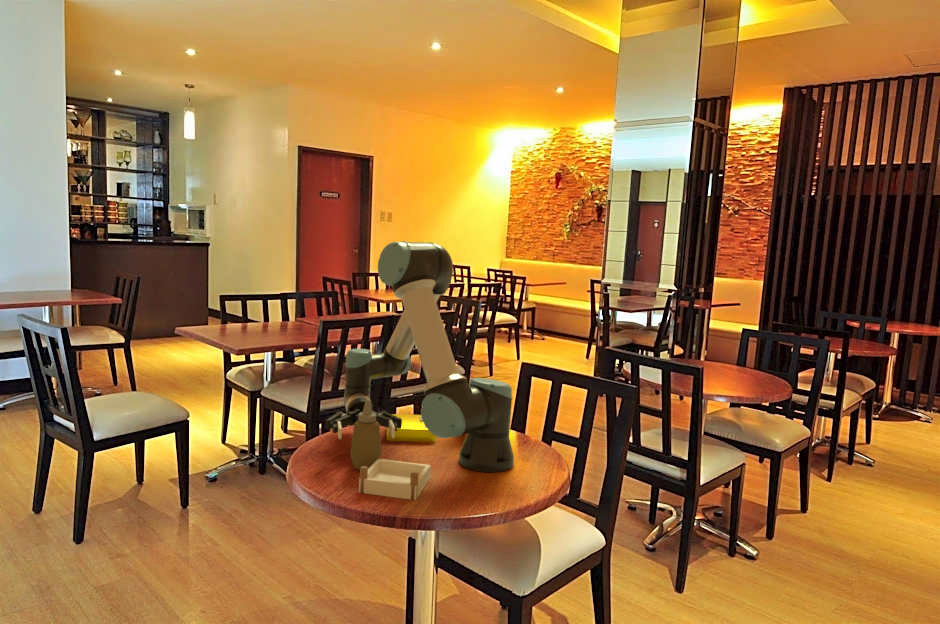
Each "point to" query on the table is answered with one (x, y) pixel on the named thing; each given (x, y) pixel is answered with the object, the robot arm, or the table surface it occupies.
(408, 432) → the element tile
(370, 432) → the squeeze bottle
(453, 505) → the table surface
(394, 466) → the tray
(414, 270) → the robot arm
